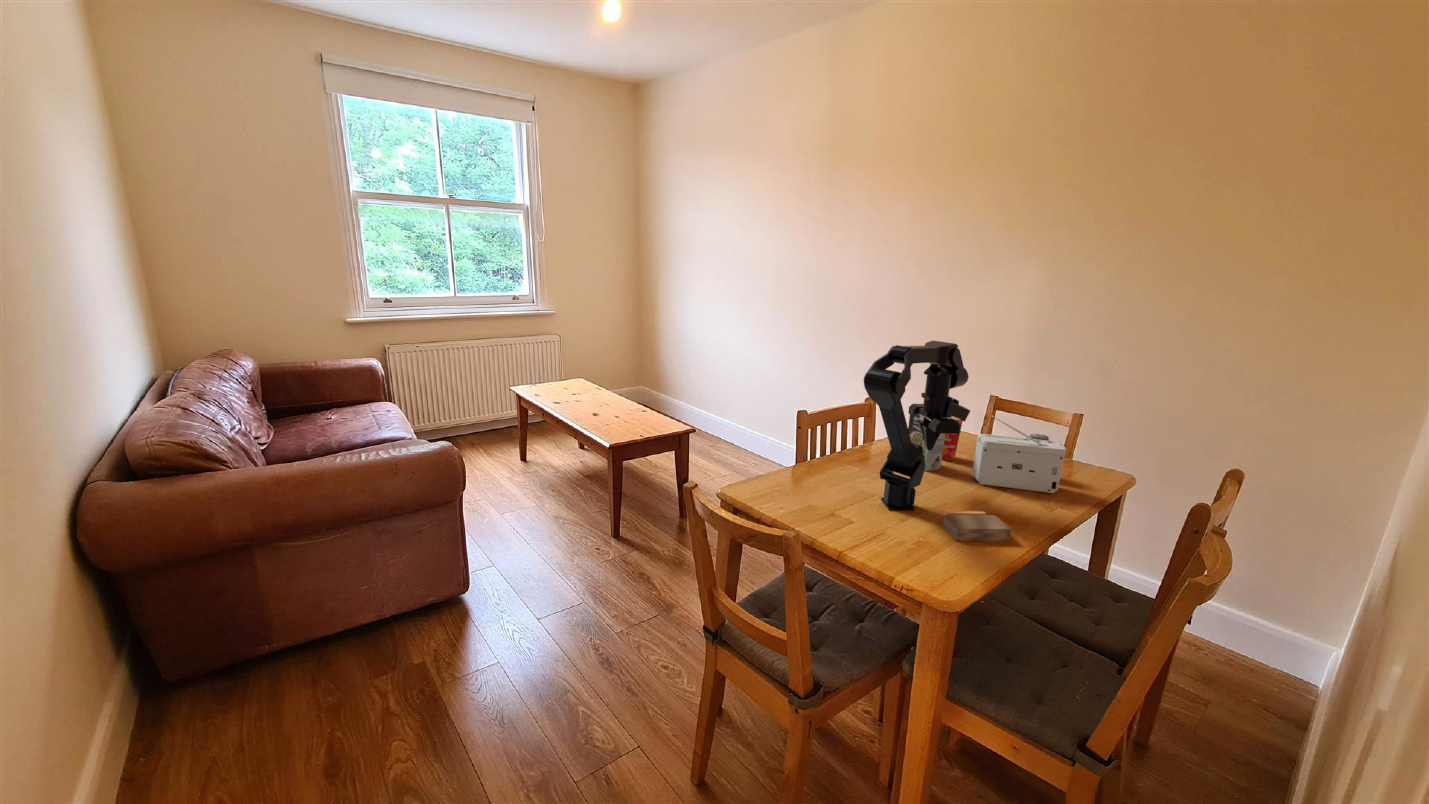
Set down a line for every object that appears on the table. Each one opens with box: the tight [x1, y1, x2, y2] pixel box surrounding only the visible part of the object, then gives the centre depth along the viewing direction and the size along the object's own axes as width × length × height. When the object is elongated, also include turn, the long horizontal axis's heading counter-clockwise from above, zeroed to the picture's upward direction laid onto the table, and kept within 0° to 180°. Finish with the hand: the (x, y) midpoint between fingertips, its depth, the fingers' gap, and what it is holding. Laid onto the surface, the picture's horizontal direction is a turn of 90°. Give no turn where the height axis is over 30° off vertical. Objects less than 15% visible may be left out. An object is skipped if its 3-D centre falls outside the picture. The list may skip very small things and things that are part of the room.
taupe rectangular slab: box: [942, 514, 1012, 543], centre depth 128 cm, size 12×7×3 cm, turn 92°
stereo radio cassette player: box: [972, 415, 1067, 494], centre depth 156 cm, size 21×8×20 cm, turn 74°
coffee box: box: [907, 414, 946, 472], centre depth 170 cm, size 9×6×16 cm
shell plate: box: [945, 510, 987, 515], centre depth 130 cm, size 9×8×3 cm
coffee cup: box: [941, 416, 963, 462], centre depth 177 cm, size 8×8×15 cm
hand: (929, 449), depth 148 cm, fingers closed
